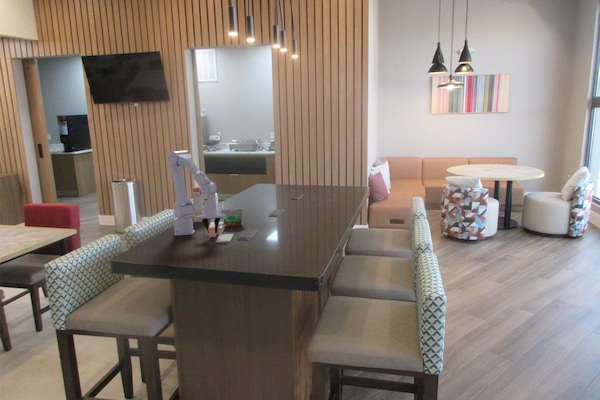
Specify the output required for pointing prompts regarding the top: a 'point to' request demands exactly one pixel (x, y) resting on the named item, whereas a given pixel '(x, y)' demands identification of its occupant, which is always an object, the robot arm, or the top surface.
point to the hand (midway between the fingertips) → (212, 232)
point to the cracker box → (198, 203)
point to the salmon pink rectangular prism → (212, 230)
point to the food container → (232, 217)
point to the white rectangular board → (224, 238)
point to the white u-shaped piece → (219, 227)
